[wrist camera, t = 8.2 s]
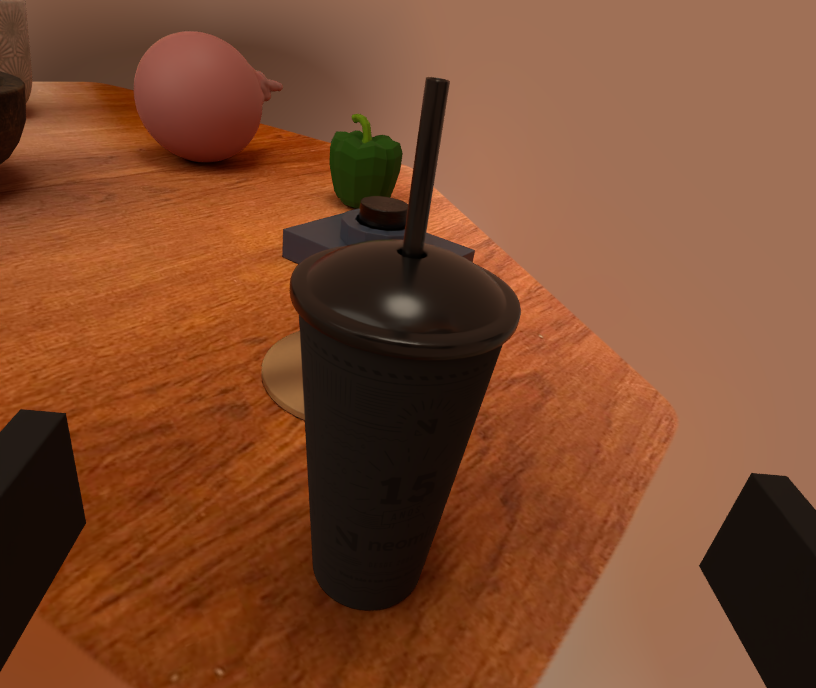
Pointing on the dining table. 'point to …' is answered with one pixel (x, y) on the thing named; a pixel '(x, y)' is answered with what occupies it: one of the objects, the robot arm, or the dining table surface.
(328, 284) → the drinking cup
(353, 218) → the plate
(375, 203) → the button
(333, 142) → the bell pepper
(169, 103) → the balloon
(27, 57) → the planter
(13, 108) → the bowl
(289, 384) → the coaster
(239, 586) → the dining table surface
